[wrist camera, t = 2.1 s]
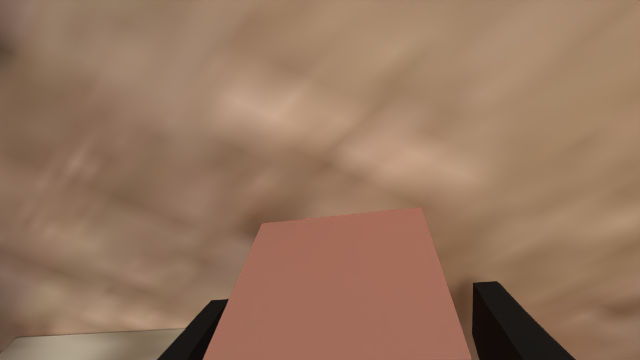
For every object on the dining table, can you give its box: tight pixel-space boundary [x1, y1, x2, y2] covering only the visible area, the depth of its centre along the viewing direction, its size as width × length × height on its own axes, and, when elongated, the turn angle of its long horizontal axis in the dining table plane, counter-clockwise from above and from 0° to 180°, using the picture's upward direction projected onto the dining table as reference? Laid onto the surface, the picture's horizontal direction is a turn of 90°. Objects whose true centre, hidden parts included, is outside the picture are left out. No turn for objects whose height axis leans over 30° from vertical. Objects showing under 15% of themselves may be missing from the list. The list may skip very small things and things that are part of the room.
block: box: [203, 207, 472, 360], centre depth 9 cm, size 5×5×5 cm
